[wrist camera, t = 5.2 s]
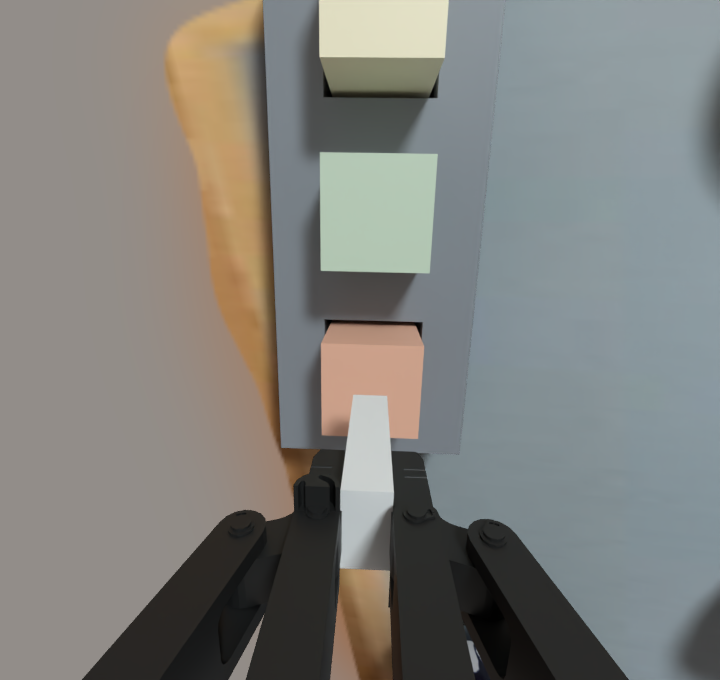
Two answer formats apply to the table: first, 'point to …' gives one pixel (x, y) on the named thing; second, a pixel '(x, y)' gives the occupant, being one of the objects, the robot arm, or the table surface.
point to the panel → (450, 222)
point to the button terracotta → (371, 373)
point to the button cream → (382, 46)
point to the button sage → (377, 211)
